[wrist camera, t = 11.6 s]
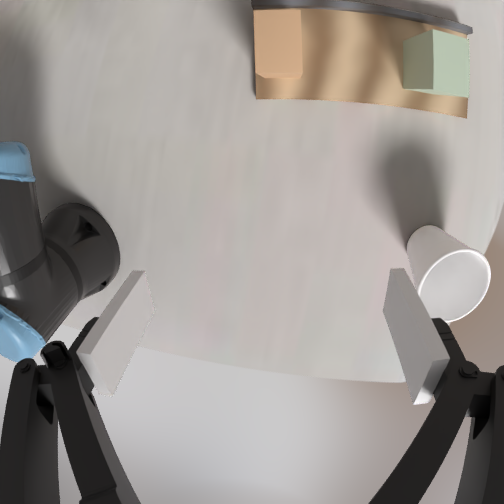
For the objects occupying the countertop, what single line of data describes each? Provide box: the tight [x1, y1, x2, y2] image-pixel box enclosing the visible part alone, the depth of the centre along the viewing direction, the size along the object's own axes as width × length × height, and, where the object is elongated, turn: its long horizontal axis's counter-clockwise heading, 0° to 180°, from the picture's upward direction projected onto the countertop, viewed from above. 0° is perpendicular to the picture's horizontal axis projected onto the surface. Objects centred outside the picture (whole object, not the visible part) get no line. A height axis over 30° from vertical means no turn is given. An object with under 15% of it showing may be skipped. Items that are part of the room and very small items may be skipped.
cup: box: [407, 225, 491, 322], centre depth 36 cm, size 10×10×11 cm
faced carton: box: [253, 10, 303, 78], centre depth 27 cm, size 4×6×9 cm, turn 2°
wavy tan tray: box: [251, 0, 473, 118], centre depth 29 cm, size 26×12×3 cm, turn 92°
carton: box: [403, 29, 470, 98], centre depth 25 cm, size 4×6×9 cm, turn 1°
